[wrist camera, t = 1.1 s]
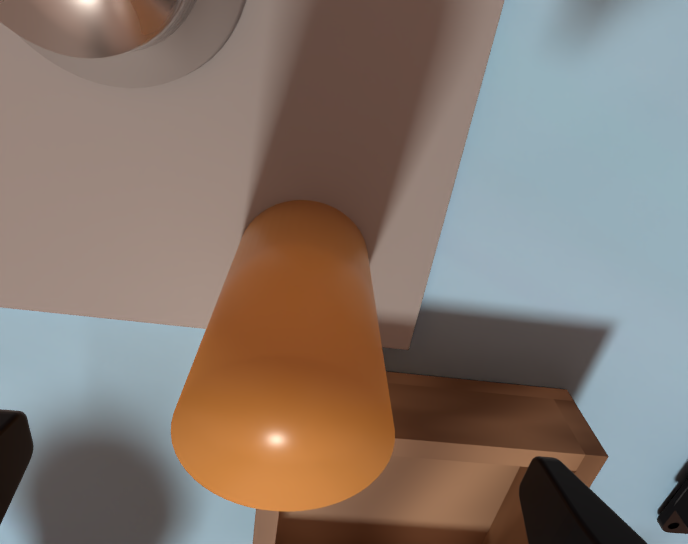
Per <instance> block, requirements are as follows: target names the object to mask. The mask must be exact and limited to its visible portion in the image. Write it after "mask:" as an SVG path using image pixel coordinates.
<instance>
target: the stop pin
mask: <svg viewBox="0 0 688 544" xmlns="http://www.w3.org/2000/svg"><path fill="white" fill-rule="evenodd" d="M171 438H172V444H173V447H174V450H175V453H176V455H177V457H178V459H179V461H180V463H181V464H182V465H183V467H184V468H185V470H186V471H187V472H188V473H189V474H190V475H191V476H192V477H193V478H194V479H195V480H196V481H197V482H198V483H200V484H201V485H202V486H203V487H205V488H206V489H208V490H209V491H211V492H213V493H214V494H216V495H218V496H220V497H222V498H224V499H226V500H229V501H232V502H234V503H237V504H240V505H244V506H247V507H251V508H256V509H261V510H269V511H286V512H290V511H304V510H312V509H317V508H322V507H326V506H329V505H333V504H336V503H339V502H341V501H343V500H346V499H348V498H350V497H352V496H354V495H356V494H357V493H359V492H361V491H362V490H363V489H365V488H366V487H368V486H369V485H370V484H371V483H372V482H373V481H374V480H376V479H377V478H378V476H379V475H380V474H381V473H382V472H383V470H384V469H385V467H386V465H387V464H388V462H389V460H390V458H391V455H392V452H393V448H394V443H395V428H394V422H393V415H392V409H391V402H390V396H389V389H388V383H387V376H386V370H385V363H384V357H383V350H382V344H381V337H380V331H379V324H378V317H377V311H376V304H375V298H374V291H373V285H372V278H371V272H370V265H369V259H368V252H367V247H366V243H365V240H364V238H363V236H362V234H361V232H360V230H359V229H358V227H357V226H356V225H355V224H354V223H353V221H352V220H351V219H350V218H348V217H347V216H346V215H345V214H344V213H342V212H341V211H339V210H337V209H336V208H334V207H331V206H329V205H327V204H324V203H321V202H316V201H311V200H292V201H287V202H283V203H279V204H276V205H274V206H272V207H270V208H268V209H266V210H264V211H263V212H261V213H260V214H259V215H258V216H257V217H255V218H254V219H253V221H252V222H251V223H250V224H249V225H248V227H247V228H246V230H245V232H244V234H243V236H242V238H241V241H240V244H239V246H238V249H237V251H236V254H235V256H234V259H233V262H232V264H231V267H230V269H229V272H228V274H227V277H226V280H225V282H224V285H223V287H222V290H221V292H220V295H219V298H218V300H217V303H216V305H215V308H214V310H213V313H212V316H211V318H210V321H209V323H208V326H207V329H206V331H205V334H204V336H203V339H202V341H201V344H200V347H199V349H198V352H197V354H196V357H195V359H194V362H193V365H192V367H191V370H190V372H189V375H188V377H187V380H186V383H185V385H184V388H183V390H182V393H181V395H180V398H179V401H178V403H177V406H176V408H175V411H174V414H173V418H172V422H171Z"/></svg>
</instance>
